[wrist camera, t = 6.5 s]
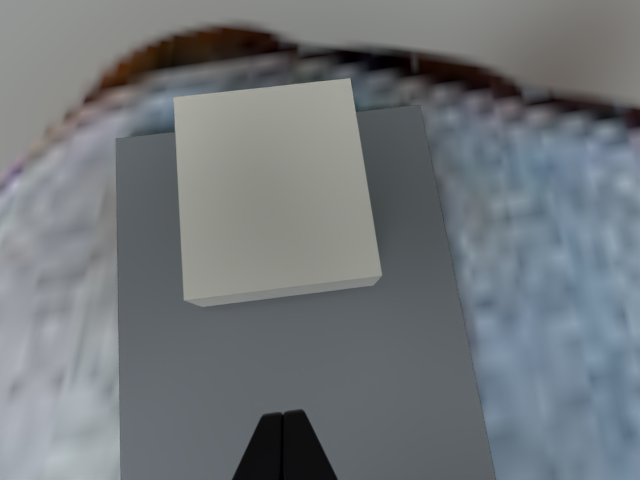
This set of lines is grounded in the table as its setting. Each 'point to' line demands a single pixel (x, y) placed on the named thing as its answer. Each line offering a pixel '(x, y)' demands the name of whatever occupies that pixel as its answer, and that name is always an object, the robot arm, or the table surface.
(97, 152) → the table surface
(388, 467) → the mat
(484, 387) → the table surface
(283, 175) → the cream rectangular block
